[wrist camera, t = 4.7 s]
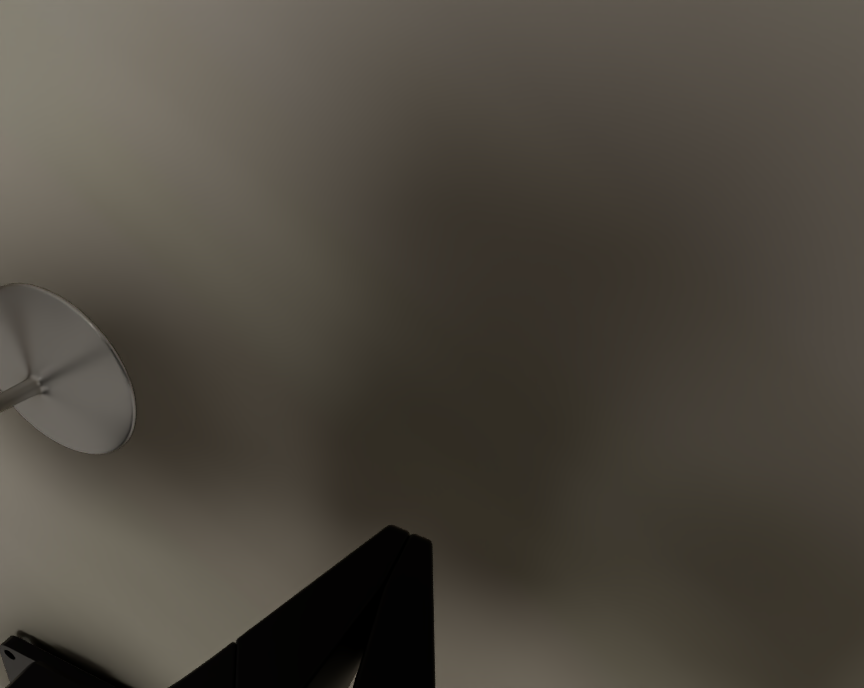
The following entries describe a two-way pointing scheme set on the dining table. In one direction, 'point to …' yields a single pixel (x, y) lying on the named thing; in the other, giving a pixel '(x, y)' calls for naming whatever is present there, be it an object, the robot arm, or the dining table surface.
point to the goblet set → (62, 372)
